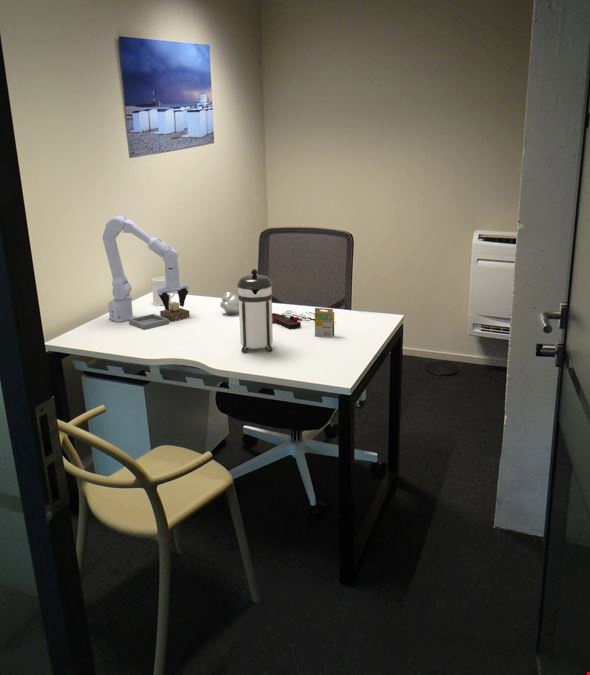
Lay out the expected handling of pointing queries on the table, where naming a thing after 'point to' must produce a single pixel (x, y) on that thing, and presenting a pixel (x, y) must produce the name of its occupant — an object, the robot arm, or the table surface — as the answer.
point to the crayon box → (324, 322)
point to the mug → (156, 285)
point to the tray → (149, 321)
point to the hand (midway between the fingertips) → (174, 307)
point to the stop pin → (174, 306)
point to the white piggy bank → (230, 303)
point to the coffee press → (255, 311)
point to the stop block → (175, 314)
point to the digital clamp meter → (288, 320)
